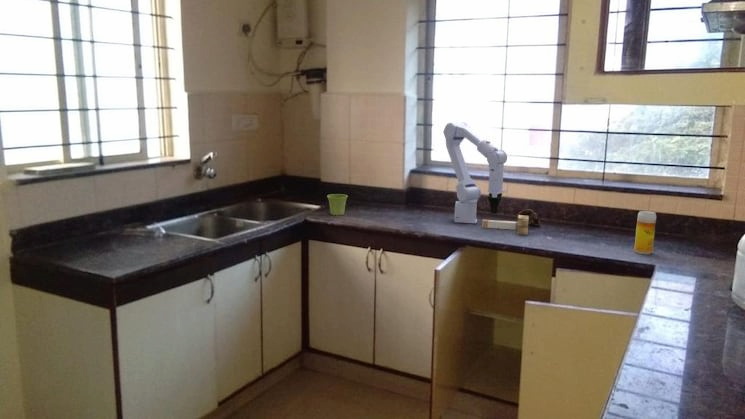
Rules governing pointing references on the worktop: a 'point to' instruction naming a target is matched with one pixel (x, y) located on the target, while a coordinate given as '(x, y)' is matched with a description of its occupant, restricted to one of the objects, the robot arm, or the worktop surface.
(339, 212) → the plant pot
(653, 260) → the worktop surface
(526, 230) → the tan wooden brick
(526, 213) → the pottery mug
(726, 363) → the worktop surface
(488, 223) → the white bar
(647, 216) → the pill bottle
